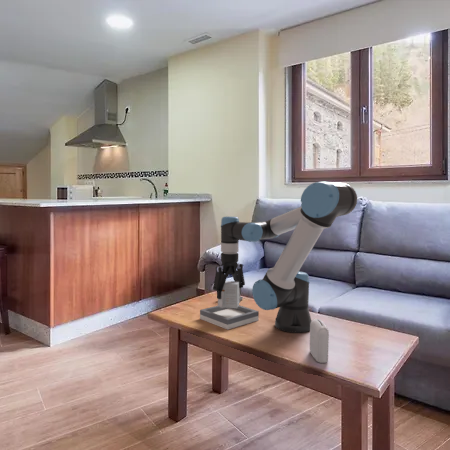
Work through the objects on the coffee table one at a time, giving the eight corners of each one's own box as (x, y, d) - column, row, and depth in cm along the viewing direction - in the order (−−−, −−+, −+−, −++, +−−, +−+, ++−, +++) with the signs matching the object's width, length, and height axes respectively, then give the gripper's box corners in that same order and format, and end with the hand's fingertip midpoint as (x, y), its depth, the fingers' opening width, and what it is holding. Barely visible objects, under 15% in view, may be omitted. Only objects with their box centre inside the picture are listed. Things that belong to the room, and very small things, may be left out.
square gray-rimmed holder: (258, 320, 166) (258, 311, 165) (227, 329, 154) (227, 319, 153) (230, 310, 179) (230, 302, 179) (200, 318, 167) (200, 309, 167)
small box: (239, 305, 168) (239, 281, 167) (237, 308, 163) (237, 284, 162) (221, 304, 169) (221, 280, 169) (218, 307, 164) (219, 283, 163)
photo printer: (308, 350, 133) (308, 315, 132) (320, 350, 133) (321, 315, 132) (316, 363, 123) (317, 325, 122) (329, 363, 123) (330, 325, 122)
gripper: (241, 249, 174) (241, 298, 176) (204, 253, 160) (204, 306, 161) (253, 251, 169) (253, 301, 170) (215, 256, 154) (215, 310, 156)
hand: (229, 304), depth 166 cm, fingers closed on small box, 9 cm apart
